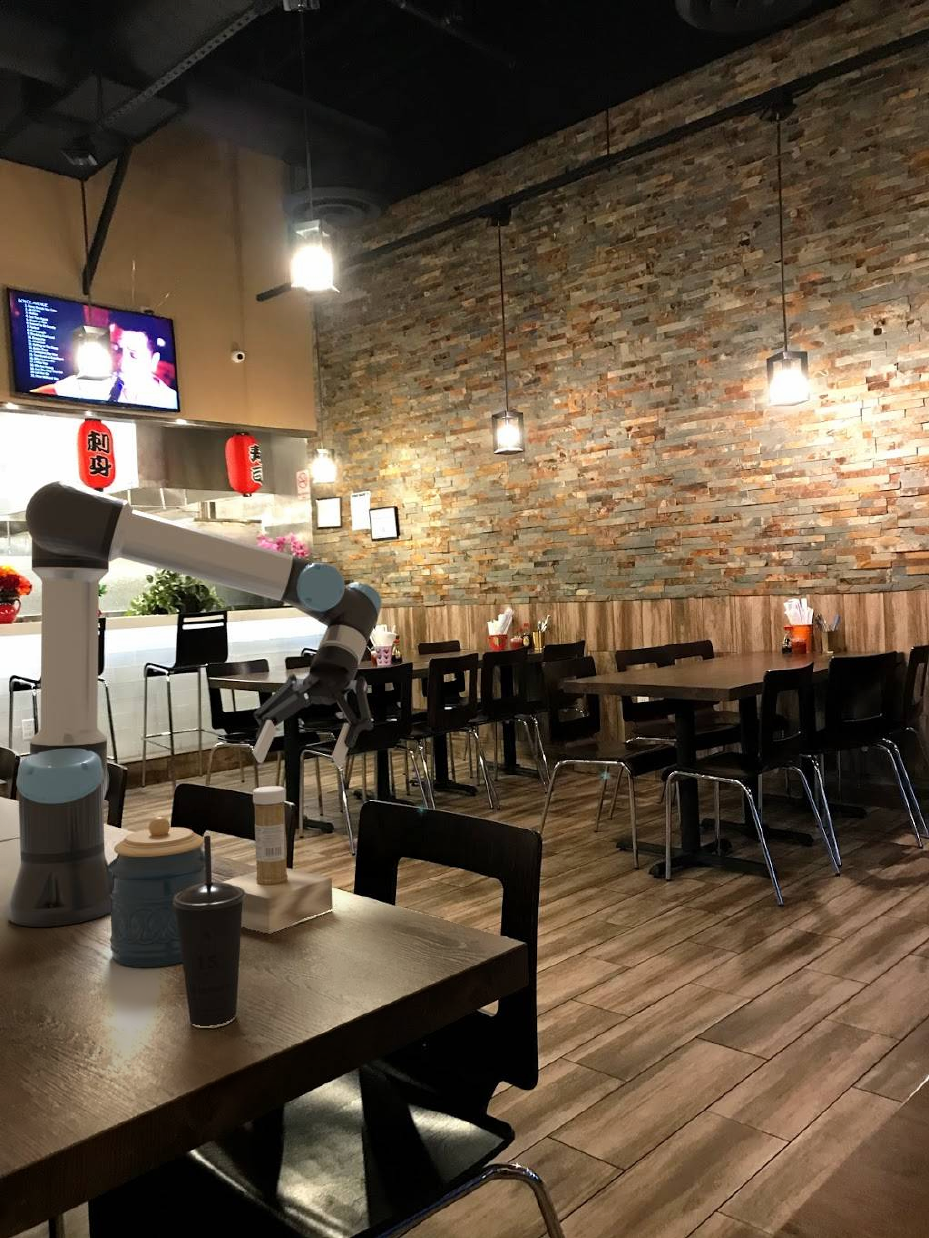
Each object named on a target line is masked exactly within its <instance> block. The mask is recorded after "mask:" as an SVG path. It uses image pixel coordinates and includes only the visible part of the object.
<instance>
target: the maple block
mask: <svg viewBox="0 0 929 1238" xmlns="http://www.w3.org/2000/svg"><path fill="white" fill-rule="evenodd" d="M286 868H287V875H288V878H287V880H285V881H284V882H281V883H277V884H262V883H258V882H257V881H256V877H257V871H254V872H251V873H247V874H243V875H241V876H237V877H234V878H230V879H227V880H224V881H222V882H223V883H228V884H231V885H233V886H237V887H240V888H242V889H244V891H245V898H244V899H243V904H242V922H241V928H243V927H245V928H244V929H246V928H247V930H250V929H251V930H250V931H253V930H256V931H255V932H257V931H260V932H259V933H261V932H264V933H268V934H270V933H273V932H274V931H276V930H278V929H281V928H283V927H287V926H290V925H292V924H293V923H295V922H298V921H300V920H302V919H304V918H307V917H311V916H314V915H318V914H321V913H323V912H326V911H328V910H331V909H333V908H334V907H333V906H334V905H333V878H332V877H331V876H327V875H322V874H317V873H311V872H307V871H303V870H298V869H293V868H290V867H289V868H288V867H286ZM264 933H263V934H264ZM268 934H267V935H268ZM273 934H274V933H273Z"/></svg>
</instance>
